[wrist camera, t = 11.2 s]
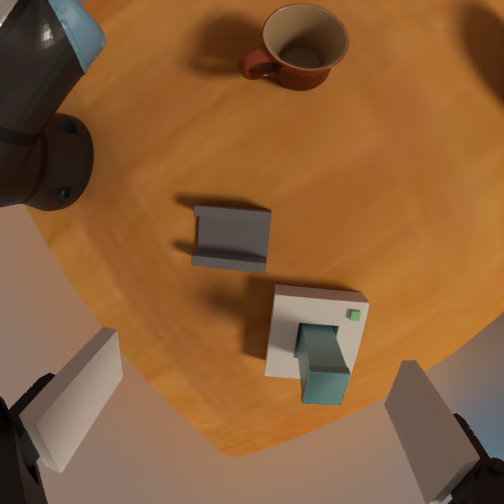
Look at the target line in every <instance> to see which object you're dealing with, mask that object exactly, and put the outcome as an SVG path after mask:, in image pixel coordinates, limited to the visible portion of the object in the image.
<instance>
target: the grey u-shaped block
mask: <svg viewBox="0 0 504 504" xmlns="http://www.w3.org/2000/svg"><path fill="white" fill-rule="evenodd" d="M194 216H199V232H198V249H197V251H196V252H195V253H194V254H193V255H191V265H195V266H204V267H212V268H221V269H230V270H239V271H248V272H257V273H265V268H266V258H267V249H268V239H269V230H270V220H271V210H263V209H253V208H243V207H232V206H221V205H209V204H199V205H196V206H194Z"/></svg>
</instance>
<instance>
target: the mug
mask: <svg viewBox="0 0 504 504" xmlns="http://www.w3.org/2000/svg"><path fill="white" fill-rule="evenodd" d="M262 40H263V43H264V44H263V45H262V46H260V47H258V48H257V49H255V50H254V51H252V52H250V53H248V54H246V55H244V56H243V57H242V58H241V59H240V60H239V61H238V69H239V71H240V73H241V74H242V76H243V77H244V78H246V79H249V80H257V79H264V78H273V77H275V78H276V79H277V80H278V81H279V83H280V84H282V85H283V86H285V87H287V88H289V89H292V90H296V91H307V90H311V89H313V88H315V87H317V86H319V85H320V84H321V83H322V82H324V81H325V79H326V78H327V77H328V75H329V72H330V70H331V67H333V66H335V65H337V64H338V63H339V62H340V61H341V60H342V59H343V58H344V56H345V55H346V53H347V50H348V45H349V39H348V34H347V31H346V29H345V27H344V25H343V24H342V22H341V21H340V20H339V19H338V18H337V17H336V16H335V15H333V14H332V13H331V12H329V11H327V10H325V9H323V8H321V7H318V6H315V5H310V4H291V5H287V6H284V7H282V8H279V9H278V10H276V11H274V12H273V13H272V14H271V15H270V16H269V17H268V18H267V20H266V22H265V24H264V26H263V30H262ZM260 63H265V64H264V65H262V66H260V67H258V68H254V69H250V68H251V67H253V66H255V65H257V64H260Z"/></svg>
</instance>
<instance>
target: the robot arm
mask: <svg viewBox="0 0 504 504" xmlns="http://www.w3.org/2000/svg"><path fill="white" fill-rule="evenodd" d="M105 41H106V40H105V34H104V32H103V30H102V29H101V27H100V26H99V25H98V24H97V22H96V21H95V20H94V19H93V18H92V17H91V15H90V14H89V13H88V12H87V11H86V10H85V9H84V8H83V7H82V6H81V5H80V4H79V3H78V2H77V1H76V0H0V207H4V206H10V205H15V204H25V205H28V206H31V207H34V208H37V209H39V210H43V211H55V210H60V209H64V208H66V207H68V206H70V205H71V204H73V203H74V202H75V201H76V200H77V199H78V198H79V197H80V196H81V194H82V193H83V191H84V190H85V188H86V186H87V184H88V181H89V178H90V175H91V172H92V167H93V157H94V153H93V144H92V139H91V136H90V133H89V131H88V129H87V128H86V126H85V125H84V124H83V123H82V122H81V121H80V120H79V119H77V118H76V117H73V116H70V115H66V114H55V112H56V111H57V109H58V108H59V106H60V105H61V103H62V102H63V101H64V99H65V98H66V97H67V95H68V94H69V93H70V91H71V90H72V89H73V87H74V86H75V85H76V83H77V82H78V81H79V80H80V78H81V77H82V76H83V75H85V74H86V73H87V69H88V68H89V66H90V65H91V64H92V62H93V61H94V60H95V59H96V57H97V56H98V55H99V54H100V52H101V51H102V50H103V48H104V46H105ZM122 378H123V374H122V367H121V359H120V351H119V342H118V332H117V330H114V329H110V328H105V327H103V328H102V329H101V330H100V331H99V332H98V333H97V334H96V335H95V336H94V337H93V338H92V339H91V340H90V341H89V342H88V343H87V344H86V345H85V346H84V347H83V348H82V349H81V350H80V351H79V352H78V353H77V354H76V355H75V356H74V357H73V358H72V359H71V360H70V361H69V362H68V363H67V364H66V365H65V366H64V367H63V368H62V369H61V370H60V371H59V372H58V373H57V375H54V374H51V373H48V374H46V375H44V376H42V377H40V378H39V379H38V380H37V381H36V382H35V383H34V384H33V386H32V387H30V388H29V389H28V390H27V393H24V394H23V396H21V398H20V399H19V400H18V401H17V402H16V403H15V404H14V405H13V406H12V407H11V408H10V409H9V410H8V408H7V405H6V403H5V401H4V400H3V399H2V397H0V504H48V503H47V500H46V496H45V492H44V488H43V485H42V481H41V477H40V472H39V468H38V465H37V463H36V461H37V459H38V458H39V457H41V459H42V461H43V463H44V464H45V466H47V467H49V468H51V469H53V470H55V471H57V472H59V473H62V471H63V470H64V468H65V466H66V465H67V463H68V462H69V460H70V458H71V457H72V455H73V454H74V452H75V450H76V449H77V447H78V446H79V444H80V443H81V441H82V439H83V438H84V436H85V435H86V433H87V432H88V430H89V428H90V427H91V425H92V424H93V422H94V421H95V419H96V418H97V416H98V414H99V413H100V411H101V410H102V408H103V407H104V405H105V404H106V402H107V401H108V399H109V398H110V396H111V395H112V393H113V392H114V390H115V389H116V387H117V386H118V384H119V383H120V381H121V380H122ZM385 407H386V409H387V412H388V414H389V416H390V418H391V421H392V423H393V425H394V427H395V430H396V432H397V434H398V437H399V439H400V441H401V444H402V446H403V448H404V451H405V453H406V455H407V458H408V460H409V463H410V465H411V468H412V470H413V473H414V475H415V478H416V480H417V483H418V485H419V488H420V490H421V493H422V496H423V498H424V501H425V503H426V504H436V503H440V502H442V501H443V500H444V499H445V498H446V497H447V496H448V495H449V494H451V496H452V498H453V499H452V500H451V501H450V502H449V503H448V504H504V462H503V461H502V460H501V459H498V458H490V457H489V456H488V454H487V453H486V451H485V450H484V448H483V447H482V445H481V443H480V442H479V440H478V439H477V437H476V436H474V433H473V431H472V430H470V427H469V425H468V424H467V422H466V421H465V419H463V418H462V417H461V416H460V415H458V414H457V413H456V414H452V412H451V411H450V409H449V408H448V406H447V405H446V403H445V402H444V401H443V399H442V397H441V396H440V394H439V393H438V392H437V390H436V389H435V387H434V386H433V384H432V383H431V382H430V380H429V379H428V377H427V376H426V374H425V373H424V371H423V370H422V369H421V367H420V366H419V364H418V363H417V362H416V360H412V361H402V363H401V366H400V368H399V371H398V373H397V376H396V378H395V381H394V383H393V386H392V388H391V391H390V393H389V395H388V398H387V400H386V402H385Z"/></svg>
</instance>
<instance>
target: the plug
mask: <svg viewBox="0 0 504 504" xmlns="http://www.w3.org/2000/svg"><path fill="white" fill-rule="evenodd" d="M296 346H297V354H298V363H299V372H300V381H301V390H302V394H301V402H302V403H304V404H324V405H341V402H342V399H343V396H344V393H345V390H346V387H347V384H348V381H349V378H350V375H351V373H350V370H349V367H347V366H346V363H345V360H344V358H343V355H342V352H341V349H340V347H339V344H338V341H337V338H336V336H335V333H334V330H333V328H332V325H321V324H309V323H299V326H298V332H297V338H296Z"/></svg>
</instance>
